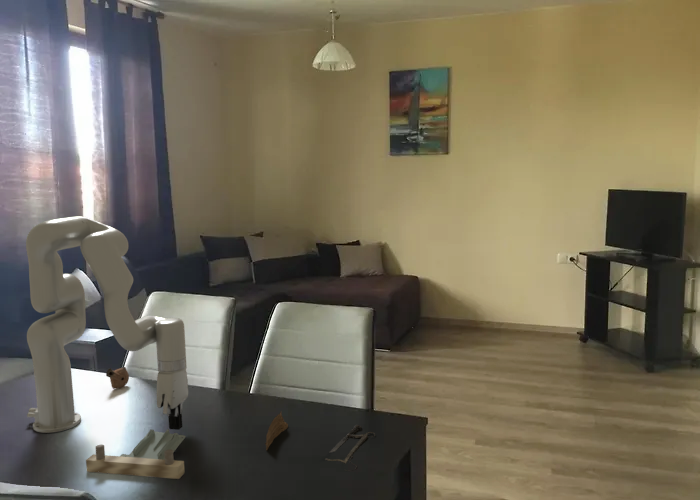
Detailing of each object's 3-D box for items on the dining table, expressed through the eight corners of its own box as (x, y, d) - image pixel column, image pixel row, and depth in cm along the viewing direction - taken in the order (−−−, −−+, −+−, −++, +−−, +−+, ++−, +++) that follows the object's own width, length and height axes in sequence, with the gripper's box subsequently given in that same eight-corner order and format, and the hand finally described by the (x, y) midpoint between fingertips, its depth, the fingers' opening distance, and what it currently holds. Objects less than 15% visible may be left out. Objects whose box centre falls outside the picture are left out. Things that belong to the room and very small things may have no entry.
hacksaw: (355, 427, 179) (355, 423, 179) (389, 430, 174) (389, 425, 174) (315, 469, 157) (315, 463, 157) (353, 473, 153) (352, 467, 153)
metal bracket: (143, 422, 170) (192, 429, 166) (148, 439, 173) (197, 446, 168) (110, 459, 158) (162, 468, 153) (116, 477, 160) (167, 486, 156)
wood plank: (271, 451, 164) (271, 433, 164) (264, 451, 165) (263, 432, 164) (288, 427, 179) (287, 410, 179) (281, 426, 180) (280, 409, 179)
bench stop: (86, 471, 155) (85, 448, 154) (93, 465, 158) (92, 442, 157) (179, 478, 151) (177, 455, 150) (184, 472, 154) (183, 449, 153)
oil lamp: (111, 394, 207) (109, 370, 205) (102, 392, 208) (100, 368, 207) (132, 385, 214) (130, 362, 213) (123, 383, 216) (121, 360, 215)
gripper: (172, 355, 181) (175, 416, 184) (145, 372, 167) (149, 438, 169) (196, 356, 180) (200, 418, 182) (171, 373, 165) (175, 441, 168)
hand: (175, 428), depth 176 cm, fingers closed
